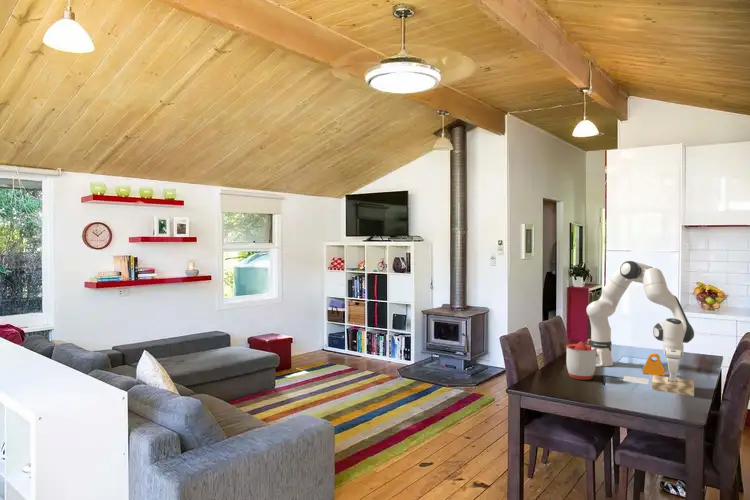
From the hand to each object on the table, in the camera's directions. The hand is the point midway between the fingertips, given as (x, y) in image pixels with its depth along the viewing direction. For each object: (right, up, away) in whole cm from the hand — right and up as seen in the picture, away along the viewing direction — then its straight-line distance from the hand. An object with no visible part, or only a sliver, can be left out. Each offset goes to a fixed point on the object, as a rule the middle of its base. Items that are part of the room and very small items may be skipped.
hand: (672, 378), depth 259 cm
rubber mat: (-10, -5, +16) cm, 20 cm away
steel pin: (0, -6, 0) cm, 6 cm away
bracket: (+7, -6, +30) cm, 31 cm away
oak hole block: (0, -6, 0) cm, 6 cm away
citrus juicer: (-37, -5, +22) cm, 43 cm away
